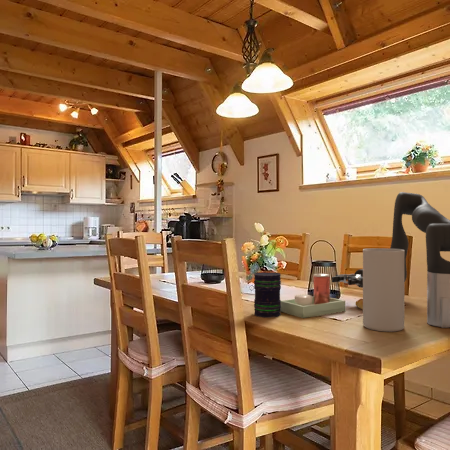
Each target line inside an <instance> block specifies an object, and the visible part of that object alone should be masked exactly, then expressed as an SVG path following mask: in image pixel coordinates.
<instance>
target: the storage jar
mask: <svg viewBox="0 0 450 450" xmlns="http://www.w3.org/2000/svg"><path fill="white" fill-rule="evenodd" d="M281 276H282V275H281V273H280V272H275V271H274V272H270V271H267V272H266V271H262V272H254V275H253V284H254V287H253V288H254V300H253V301H254V302H253V303H254V304H253V309H254V313H253V314H254V316H255V317H258V318H259V317H260V318H278V317H281V314H282V312H280V311H281V309H280V308H281V301H282V300H281V284H282V280H281V279H282V278H281Z"/></svg>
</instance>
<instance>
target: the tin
mask: <svg viewBox="0 0 450 450" xmlns="http://www.w3.org/2000/svg"><path fill="white" fill-rule="evenodd" d="M312 275H313V297H314V304H321V303H328V302H330V298H331V289H330V288H331V287H330V286H331V284H330V280H331V279H330V277H331V274H329V273H328V274H327V273H314V274H312Z"/></svg>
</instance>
